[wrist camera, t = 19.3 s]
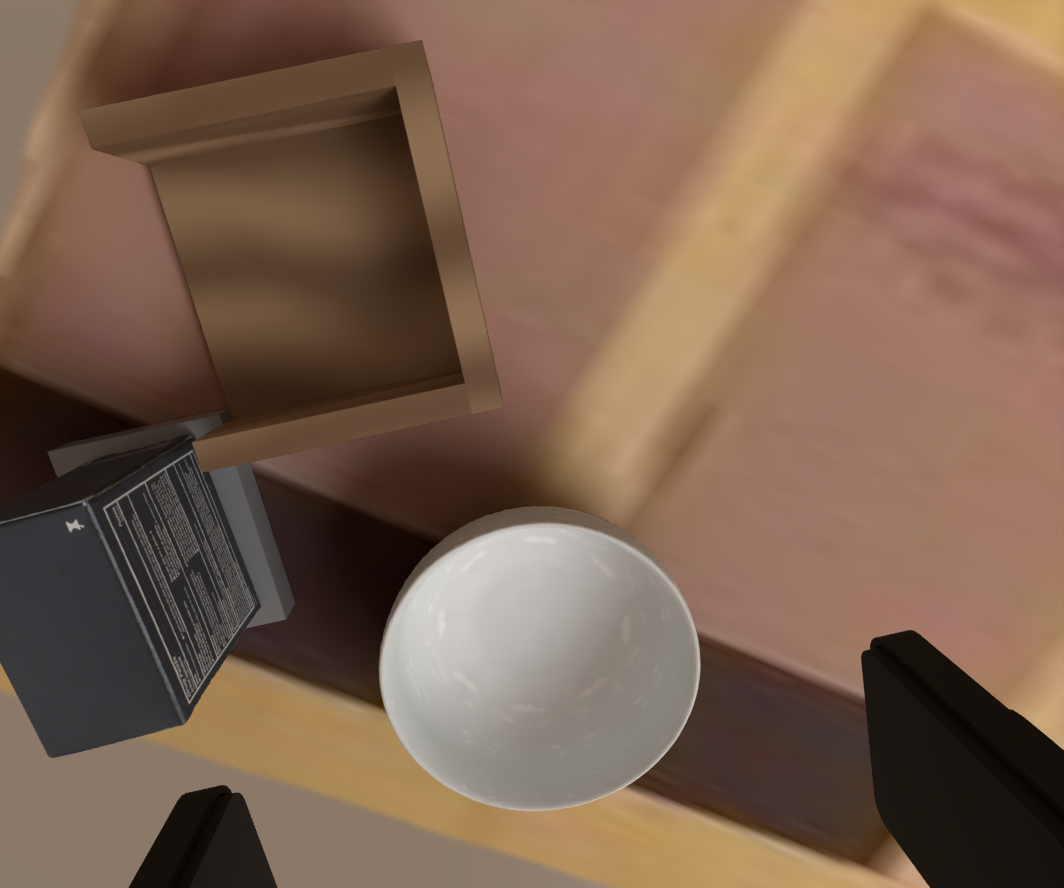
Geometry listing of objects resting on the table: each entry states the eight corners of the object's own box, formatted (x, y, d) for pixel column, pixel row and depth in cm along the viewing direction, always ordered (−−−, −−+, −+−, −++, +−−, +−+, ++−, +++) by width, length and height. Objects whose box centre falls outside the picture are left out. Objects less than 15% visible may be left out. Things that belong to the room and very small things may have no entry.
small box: (74, 462, 37) (-80, 537, 27) (196, 430, 37) (88, 492, 27) (152, 638, 39) (39, 767, 29) (265, 608, 40) (192, 726, 29)
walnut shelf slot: (144, 136, 35) (78, 110, 29) (431, 76, 35) (421, 39, 30) (243, 442, 39) (202, 472, 33) (499, 386, 39) (503, 407, 34)
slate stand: (68, 442, 38) (47, 451, 37) (232, 407, 39) (219, 414, 37) (144, 636, 42) (127, 654, 40) (295, 602, 42) (286, 619, 40)
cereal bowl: (345, 543, 41) (318, 599, 34) (611, 435, 41) (638, 469, 34) (461, 770, 45) (458, 860, 39) (703, 675, 45) (744, 748, 38)
